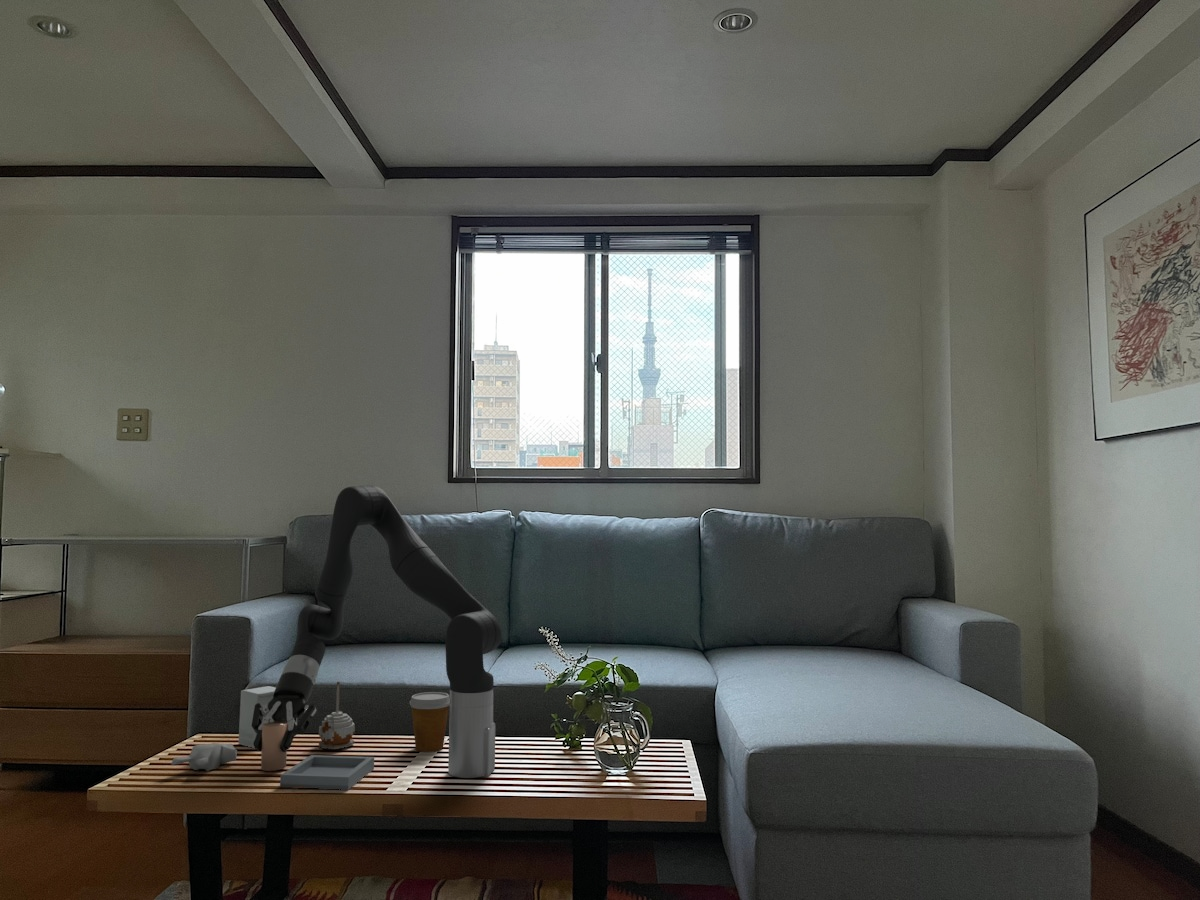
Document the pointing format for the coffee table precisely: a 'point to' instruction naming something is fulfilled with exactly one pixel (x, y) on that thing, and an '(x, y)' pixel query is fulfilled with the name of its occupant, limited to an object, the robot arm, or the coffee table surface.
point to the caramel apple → (336, 729)
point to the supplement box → (252, 711)
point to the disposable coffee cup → (429, 720)
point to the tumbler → (273, 746)
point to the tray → (327, 772)
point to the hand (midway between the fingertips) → (270, 749)
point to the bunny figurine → (208, 756)
